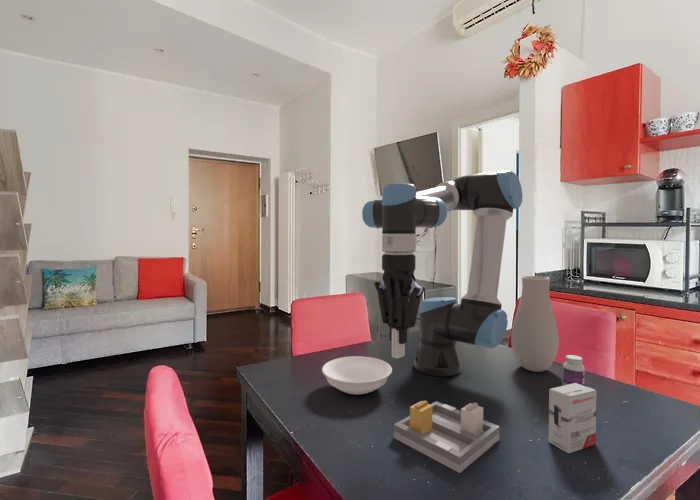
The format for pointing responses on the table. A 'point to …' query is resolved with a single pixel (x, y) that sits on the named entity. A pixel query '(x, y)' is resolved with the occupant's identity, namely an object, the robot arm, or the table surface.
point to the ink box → (572, 417)
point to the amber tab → (421, 417)
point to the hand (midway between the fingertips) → (398, 356)
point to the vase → (535, 326)
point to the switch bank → (448, 438)
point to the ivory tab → (472, 419)
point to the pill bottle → (573, 371)
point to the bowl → (357, 374)
